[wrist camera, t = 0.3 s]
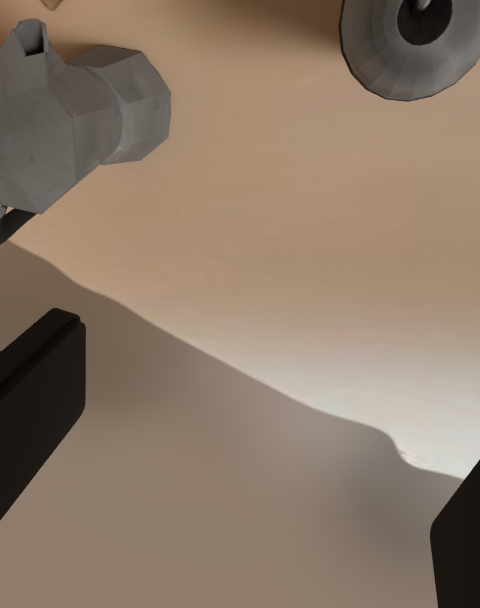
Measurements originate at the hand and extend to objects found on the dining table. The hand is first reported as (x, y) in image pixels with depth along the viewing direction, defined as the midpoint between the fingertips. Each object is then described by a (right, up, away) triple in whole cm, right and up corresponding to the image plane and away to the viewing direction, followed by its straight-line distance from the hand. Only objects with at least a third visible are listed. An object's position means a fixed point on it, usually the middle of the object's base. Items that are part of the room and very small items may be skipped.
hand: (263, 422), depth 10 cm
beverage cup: (+11, +22, +21) cm, 32 cm away
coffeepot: (-11, +19, +29) cm, 36 cm away
